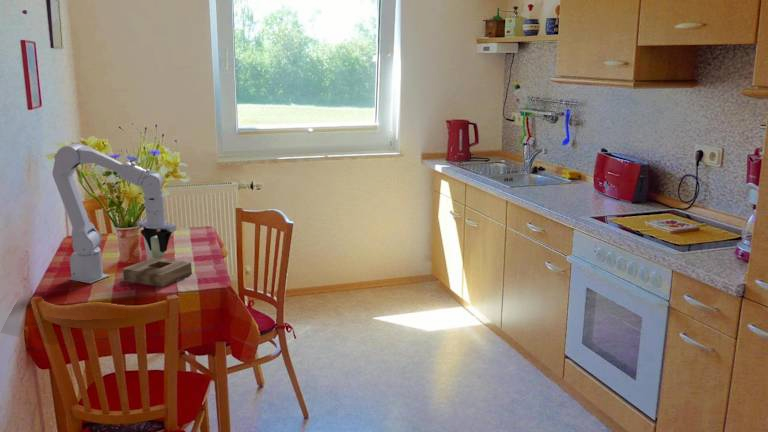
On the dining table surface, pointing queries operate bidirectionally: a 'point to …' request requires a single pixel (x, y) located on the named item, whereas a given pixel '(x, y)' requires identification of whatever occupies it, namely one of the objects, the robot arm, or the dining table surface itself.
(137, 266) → the socket board
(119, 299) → the dining table surface
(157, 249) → the pale green block
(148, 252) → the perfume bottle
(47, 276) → the dining table surface
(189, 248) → the dining table surface
